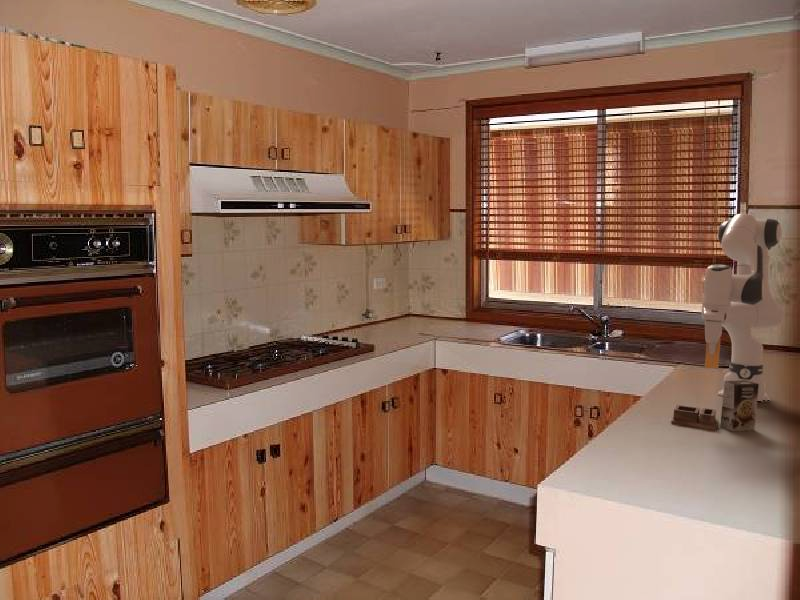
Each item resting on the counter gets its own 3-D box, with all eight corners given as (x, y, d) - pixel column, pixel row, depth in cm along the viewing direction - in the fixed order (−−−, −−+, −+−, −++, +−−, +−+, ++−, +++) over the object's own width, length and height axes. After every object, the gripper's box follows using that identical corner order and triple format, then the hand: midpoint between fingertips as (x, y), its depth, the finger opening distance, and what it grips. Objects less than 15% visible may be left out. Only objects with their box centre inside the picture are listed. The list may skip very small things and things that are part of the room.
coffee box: (733, 432, 237) (736, 384, 235) (719, 426, 243) (723, 380, 241) (755, 430, 240) (759, 383, 238) (741, 424, 246) (745, 379, 244)
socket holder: (675, 415, 256) (676, 403, 255) (717, 421, 249) (718, 409, 249) (671, 423, 245) (671, 411, 244) (715, 430, 239) (716, 417, 238)
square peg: (705, 365, 246) (707, 337, 244) (718, 367, 244) (720, 338, 243) (704, 367, 242) (706, 338, 241) (717, 369, 240) (719, 340, 239)
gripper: (708, 308, 251) (705, 347, 253) (702, 315, 233) (699, 356, 235) (727, 310, 248) (724, 349, 250) (724, 316, 230) (720, 358, 232)
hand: (712, 352), depth 242 cm, fingers closed on square peg, 4 cm apart
